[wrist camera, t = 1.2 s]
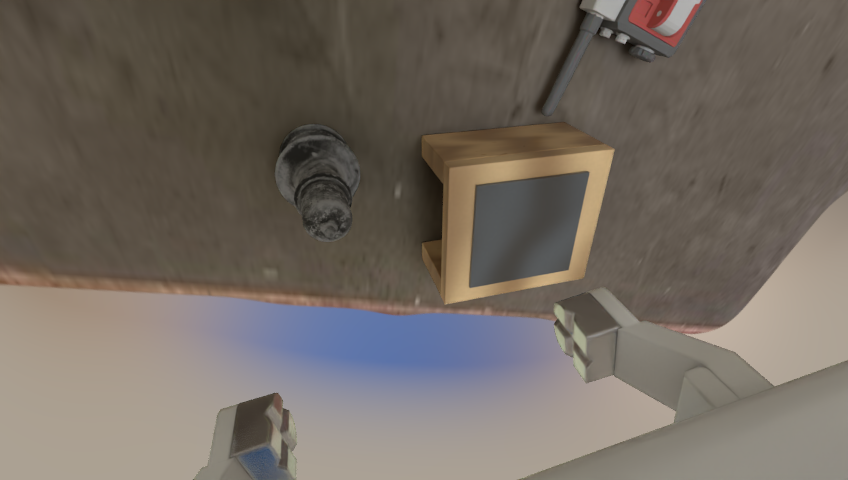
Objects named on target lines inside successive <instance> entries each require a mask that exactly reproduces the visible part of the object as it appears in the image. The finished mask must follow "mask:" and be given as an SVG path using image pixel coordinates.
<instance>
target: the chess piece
mask: <svg viewBox="0 0 848 480" xmlns="http://www.w3.org/2000/svg"><path fill="white" fill-rule="evenodd" d="M275 178H276V184H277V186H278V189H279V191H280V193H281V194H282V196H283V197H284V198H285V199H286V200H287V201H288V202H289V203H290V204H292V205H293V206H295V207H296V209H297V211H298V212H299V213H300V215H301V216H302V220H303V226H304V228H305V230H306V231H307V233H308V234H309V235H310V236H311V237H313V238H314V239H316V240H319V241H323V242H332V241H336V240H339V239H341V238H342V237H344V236H345V235H346V234H347V233H348V232H349V230H350V228H351V225H352V213H351V210H350V207H351V204H352V197H353V195H354V194H355V192H356V190H357V188H358V186H359V181H360V166H359V163H358V160H357V158H356V156H355V154H354V153H353V152H352V150H351V149H350V148H349V147H348V146H347V144H346V142H345V141H344V139H343V138H342V136H341V135H340V134H339V133H337V132H336V131H335V130H334V129H331V128H329V127H327V126H324V125H319V124H307V125H303V126H300V127H298V128H296V129H294V130H293V131H291V132H290V133H289V134H288V135H287V136H286V138H285V139H284V140H283V143H282V145H281V147H280V154H279V158H278V160H277V163H276V169H275Z"/></svg>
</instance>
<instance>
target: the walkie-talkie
mask: <svg viewBox="0 0 848 480" xmlns="http://www.w3.org/2000/svg"><path fill="white" fill-rule="evenodd" d="M705 2H706V0H583V1H582V3H581V5H580V7H579V8H580V9H582V10H584V11H586V12H587V14H586V16H585V18H584V20H583V22H582V24H581V26H580V32H579V34H578V36H577V38H576V40H575V42H574V44H573V46H572V48H571V50H570V52H569V54H568V56H567V58H566V60H565V62H564V64H563V66H562V68H561V70H560V72H559V74H558V76H557V78H556V82H555V84H554V86H553V88H552V90H551V92H550V95H549V97H548V99H547V101H546V103H545V105H544V107H543V109H542V114H543V115H544V116H551V115H552V114H553V113H554V111H555V109H556V107H557V105H558V103H559V101H560V99H561V97H562V95H563V93H564V91H565V89H566V87H567V85H568V83H569V81H570V80H571V78H572V76H573V74H574V72H575V70H576V68H577V66H578V64H579V62H580V60H581V58H582V56H583V54H584V52H585V50H586V48H587V46H588V44H589V42H590V41H591V39H592V37H593V35H595V34H596V33H597V31H598V29H599V27H600V29H601V32H600V34H599V35H600V36H602V37H605V38H609V37H610V36H611V34H615V35H617V37H616V39H615V41H617V42H619V43H622V44H623V43H624V44H625V43H626V41H628V42H629V43H631V44H633V45H635V46H633V47H630V49H629V54H630V55H632V56H634V57H636V58H639V59H641V60H643V61H647V62H653V61H654V59H655V58H656V57H655V55H659V56H664V57H668V58H669V57H671V56H672V55H673V54H675V52H676V50H677V49H678V47H679V45H680V44H681V42H682V40H683V39H684V37H685V35H686V34H687V32H688V30H689V29H690V27H691V25H692V24H693V22H694V20H695V18H696V17H697V15H698V13H699V12H700V10H701V8H702V7H703V5H704V3H705Z"/></svg>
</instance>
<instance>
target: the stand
mask: <svg viewBox="0 0 848 480" xmlns="http://www.w3.org/2000/svg"><path fill="white" fill-rule="evenodd" d="M613 154H614V149H613V148H611V147H610V146H608V145H606V144H604V143H602V142H600V141H598V140H597V139H595V138H593V137H591V136H589V135H587V134H585V133H584V132H582V131H580V130H578V129H576V128H574V127H573V126H571V125H569V124H567V123H565V122H560V123H549V124H539V125H528V126H517V127H507V128H496V129H485V130H475V131H464V132H454V133H443V134H432V135H422V157H423V159H424V160H425V161H426V162H427V164H428V165H429V166H430V168H431V169H432V170H433V172H434V173H435V174H436V176H437V177H438V178H439V179H440V181H441V182H442V183H443V184H444V185H443V224H442V240H436V241H430V242H423V243H422V259H423V261H424V263H425V265H426V267H427V269H428V271H429V273H430V275H431V277H432V279H433V281H434V283H435V285H436V287H437V289H438V291H439V293H440V295H441V297H442V299H443V301H444V303H445V304H450V303H455V302H460V301H465V300H471V299H476V298H481V297H487V296H492V295H497V294H502V293H508V292H513V291H518V290H523V289H529V288H534V287H539V286H545V285H550V284H555V283H560V282H566V281H571V280H576V279H581V278H584V274H585V270H586V266H587V262H588V258H589V254H590V249H591V245H592V241H593V237H594V233H595V229H596V225H597V220H598V216H599V212H600V208H601V204H602V200H603V196H604V191H605V187H606V183H607V179H608V175H609V171H610V167H611V162H612V158H613Z"/></svg>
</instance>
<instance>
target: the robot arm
mask: <svg viewBox="0 0 848 480" xmlns="http://www.w3.org/2000/svg"><path fill="white" fill-rule="evenodd" d="M554 314H555V315H556V316H557V318H558V319H557V320H556V322H555V323H554V327H555V334H556V337H557V341H558V343H559V345H560V347H561V349H562V350H563V351H564V353H565V354H566V355H568V356H570V357H573V358H574V360H573V363H574V367H575V368H576V370H577V371H578V373H579V374H580V376H581V377H582V378H583V380H584V381H585V382H586V383H589V382H592V381H595V380H599V379H602V378H605V377H608V376H611V375H614V376H615V377H616V378H618V379H620V380H622V381H624V382H625V383H627V384H629V385H631V386H632V387H634V388H636V389H638V390H639V391H641V392H643V393H645V394H647V395H648V396H650V397H652V398H654V399H655V400H657V401H659V402H661V403H662V404H664V405H666V406H668V407H670V408H671V409H673V410H675V411H676V414H675V419H674V423H673V424H670V425H668V426H665V427H662V428H659V429H656V430H654V431H651V432H648V433H645V434H643V435H640V436H637V437H634V438H632V439H629V440H626V441H623V442H620V443H618V444H615V445H612V446H609V447H607V448H604V449H601V450H598V451H596V452H593V453H590V454H587V455H585V456H582V457H579V458H576V459H574V460H571V461H568V462H566V463H563V464H560V465H557V466H554V467H551V468H549V469H546V470H543V471H541V472H538V473H535V474H532V475H530V476H527V477H524V478H521V479H518V480H848V360H847V361H844V362H841V363H838V364H836V365H833V366H830V367H828V368H825V369H822V370H819V371H817V372H814V373H811V374H808V375H805V376H803V377H800V378H797V379H794V380H792V381H789V382H786V383H783V384H781V385H778V386H773V385H772V384H771V383H770V382H769V381H768V380H767V379H765V378H764V377H763V376H762V375H761V374H760V373H758V372H757V371H756V370H755V369H754V368H753V367H751V366H750V365H749V364H748V363H747V362H746V361H745V360H743V359H742V358H741V357H740V356H739V355H738V354H736V353H735V352H733V351H730V350H727V349H724V348H721V347H719V346H716V345H713V344H710V343H707V342H704V341H701V340H699V339H696V338H693V337H690V336H687V335H685V334H682V333H679V332H676V331H673V330H670V329H668V328H665V327H662V326H659V325H656V324H653V323H651V322H648V321H642V322H640V321H639V320H638V319H637V318H636V317H635V316H634V315H633V314H632V313H631V312H630V311H629V310H628V309H627V308H626V307H625V306H624V305H623V304H622V303H621V302H620V301H619V300H618V299H617V298H616V297H615V296H614V295H613V294H612V293H611V292H610V291H609V290H608V289H607V288H604V287H601V288H598V289H595V290H592V291H589V292H587V293H582V294H579V295H576V296H573V297H570V298H567V299H564V300H561V301H558V302H555V304H554ZM296 438H297V437H296V429H295V423H294V421H293V418H292V416H291V414H290V412H289V410H286V409H284V408H283V400H282V398H281V397H280V395H279V394H278V393H273V394H270V395H267V396H263V397H260V398H256V399H253V400H249V401H246V402H243V403H240V404H237V405H234V406H230V407H227V408H223V409H221V410H220V411H219V413H218V415H217V419H216V424H215V430H214V434H213V440H212V445H211V450H210V455H209V460H208V466H206V467H203V468H202V469H201V470H200V471H199V472H198V474H197V475H196V476H195V478H194V479H193V480H296V458H295V456H294V455H293V453H292V451H293V449H294V448H295V446H296V444H297V439H296Z"/></svg>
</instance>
